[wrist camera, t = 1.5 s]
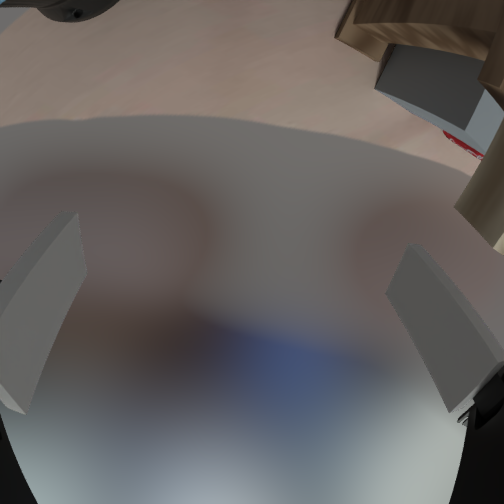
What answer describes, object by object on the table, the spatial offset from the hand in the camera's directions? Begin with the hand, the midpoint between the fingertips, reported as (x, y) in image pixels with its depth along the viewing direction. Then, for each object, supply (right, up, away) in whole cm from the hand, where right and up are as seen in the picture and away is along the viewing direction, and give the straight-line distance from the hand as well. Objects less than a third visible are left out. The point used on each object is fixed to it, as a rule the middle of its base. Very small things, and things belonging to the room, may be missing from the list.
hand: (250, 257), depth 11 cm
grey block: (+24, +28, +24) cm, 43 cm away
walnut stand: (+16, +31, +20) cm, 40 cm away
